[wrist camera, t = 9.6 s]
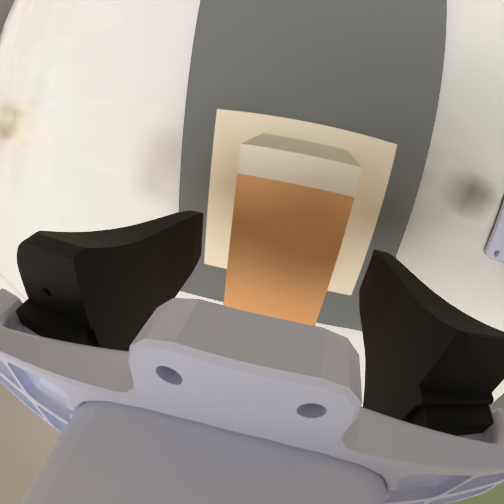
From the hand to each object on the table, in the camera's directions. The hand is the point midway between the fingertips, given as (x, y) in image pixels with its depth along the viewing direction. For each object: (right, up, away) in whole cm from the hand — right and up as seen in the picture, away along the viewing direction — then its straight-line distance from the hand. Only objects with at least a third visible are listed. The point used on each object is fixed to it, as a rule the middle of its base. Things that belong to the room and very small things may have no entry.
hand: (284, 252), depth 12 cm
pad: (+1, +3, +5) cm, 6 cm away
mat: (+2, +10, +1) cm, 10 cm away
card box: (+1, +2, +5) cm, 5 cm away
